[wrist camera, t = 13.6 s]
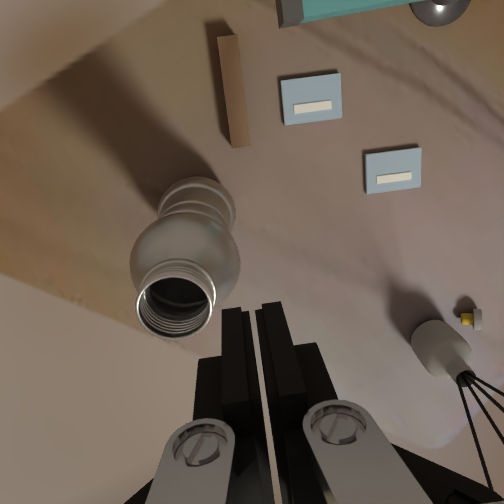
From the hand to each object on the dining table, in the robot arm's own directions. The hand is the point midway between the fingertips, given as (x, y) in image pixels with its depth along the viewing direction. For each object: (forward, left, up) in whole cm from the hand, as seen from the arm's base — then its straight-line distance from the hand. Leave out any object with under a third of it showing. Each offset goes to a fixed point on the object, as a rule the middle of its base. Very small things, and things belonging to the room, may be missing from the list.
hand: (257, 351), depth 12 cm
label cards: (-11, -2, -28) cm, 30 cm away
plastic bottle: (+4, +2, -28) cm, 28 cm away
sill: (-1, -7, -28) cm, 29 cm away
